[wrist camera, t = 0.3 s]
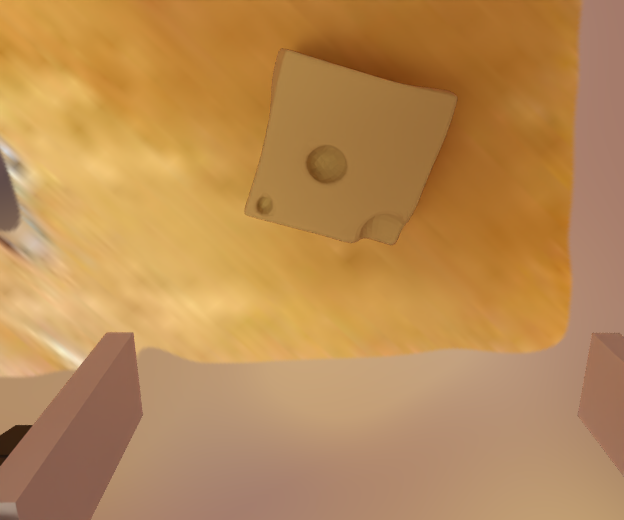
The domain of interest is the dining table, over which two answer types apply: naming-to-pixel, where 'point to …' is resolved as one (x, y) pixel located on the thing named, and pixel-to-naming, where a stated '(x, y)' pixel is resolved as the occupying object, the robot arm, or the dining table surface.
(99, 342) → the robot arm
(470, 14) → the dining table surface
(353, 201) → the cheese
